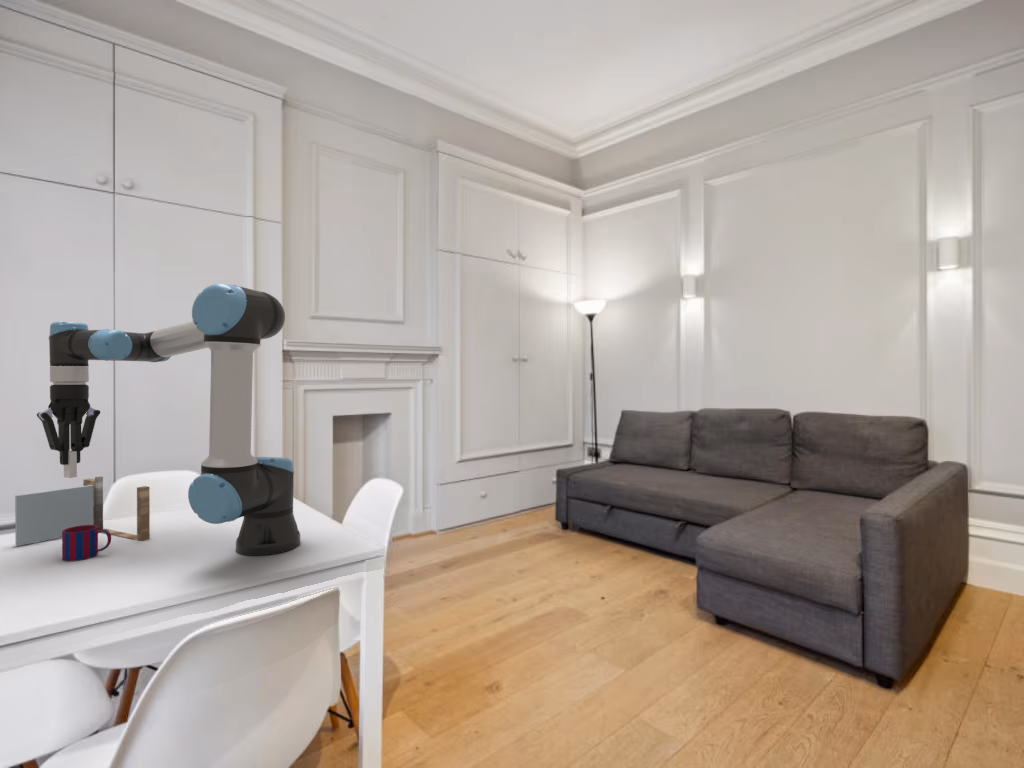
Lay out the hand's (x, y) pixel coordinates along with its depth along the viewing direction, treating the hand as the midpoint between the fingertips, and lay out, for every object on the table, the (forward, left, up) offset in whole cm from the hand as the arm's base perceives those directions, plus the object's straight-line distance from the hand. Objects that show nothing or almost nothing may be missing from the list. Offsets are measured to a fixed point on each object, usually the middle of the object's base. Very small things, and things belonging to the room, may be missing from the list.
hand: (70, 476), depth 134 cm
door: (+13, -3, -18) cm, 22 cm away
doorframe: (+3, -12, -18) cm, 22 cm away
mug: (-11, +2, -18) cm, 21 cm away
